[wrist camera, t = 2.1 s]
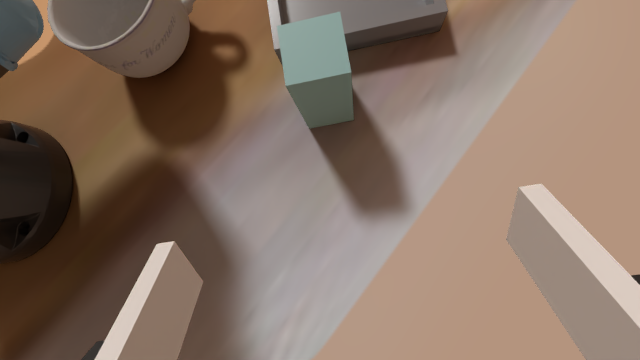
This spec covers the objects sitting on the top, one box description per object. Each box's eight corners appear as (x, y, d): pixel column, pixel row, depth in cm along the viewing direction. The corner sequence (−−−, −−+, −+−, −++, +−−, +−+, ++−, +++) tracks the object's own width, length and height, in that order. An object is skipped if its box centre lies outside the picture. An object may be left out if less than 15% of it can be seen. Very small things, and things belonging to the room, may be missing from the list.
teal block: (309, 128, 31) (285, 86, 21) (302, 86, 31) (276, 26, 22) (353, 120, 30) (351, 72, 20) (346, 77, 31) (340, 11, 21)
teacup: (120, 101, 34) (48, 65, 26) (106, 15, 36) (34, -43, 28) (239, 63, 33) (201, 13, 25) (218, -24, 34) (177, -97, 26)
